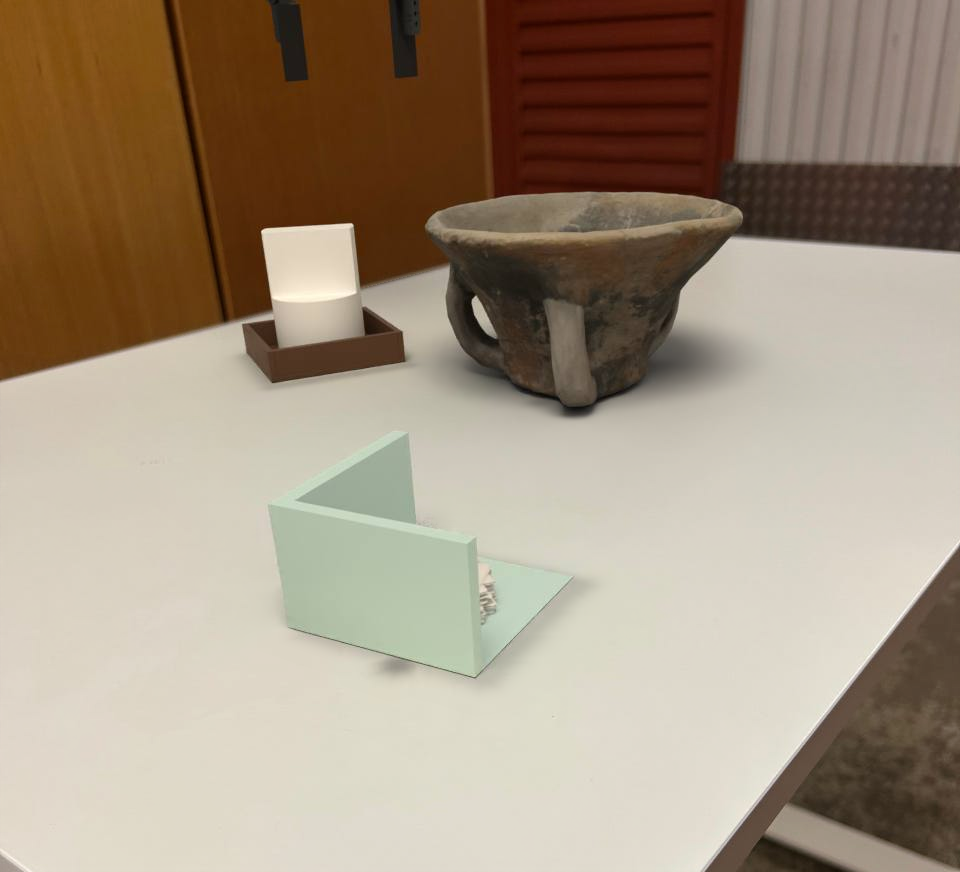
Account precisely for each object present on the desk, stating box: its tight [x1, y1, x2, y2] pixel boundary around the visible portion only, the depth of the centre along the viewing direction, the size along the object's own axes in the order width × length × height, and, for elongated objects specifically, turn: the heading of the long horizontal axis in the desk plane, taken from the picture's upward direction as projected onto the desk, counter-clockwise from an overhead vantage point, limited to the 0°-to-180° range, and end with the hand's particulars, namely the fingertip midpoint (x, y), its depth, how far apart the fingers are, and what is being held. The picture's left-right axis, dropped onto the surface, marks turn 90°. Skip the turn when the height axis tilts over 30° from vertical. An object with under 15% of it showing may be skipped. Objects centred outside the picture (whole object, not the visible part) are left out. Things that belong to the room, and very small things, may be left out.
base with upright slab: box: [261, 222, 365, 349], centre depth 100 cm, size 9×9×12 cm
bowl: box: [424, 191, 744, 408], centre depth 89 cm, size 27×26×15 cm
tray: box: [241, 306, 406, 384], centre depth 102 cm, size 14×13×3 cm
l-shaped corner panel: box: [267, 429, 574, 678], centre depth 55 cm, size 12×12×8 cm
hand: (350, 79), depth 97 cm, fingers open, 13 cm apart
